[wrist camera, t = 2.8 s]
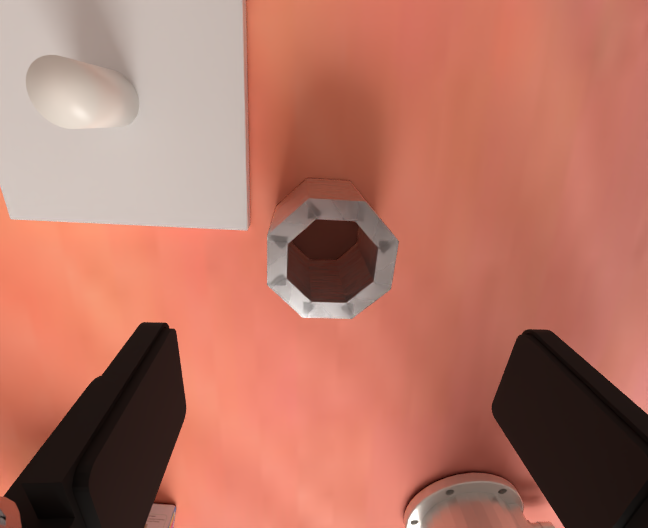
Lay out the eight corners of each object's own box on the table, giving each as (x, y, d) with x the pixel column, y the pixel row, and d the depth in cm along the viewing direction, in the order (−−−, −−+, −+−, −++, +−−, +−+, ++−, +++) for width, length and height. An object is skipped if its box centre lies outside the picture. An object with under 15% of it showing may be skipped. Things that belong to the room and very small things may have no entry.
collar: (378, 182, 22) (405, 203, 16) (366, 274, 24) (385, 319, 19) (276, 176, 21) (267, 196, 16) (275, 270, 24) (267, 316, 18)
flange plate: (245, -44, 17) (222, -109, 12) (250, 224, 22) (236, 253, 17) (-59, -79, 16) (-219, -167, 11) (25, 214, 21) (-56, 241, 16)
